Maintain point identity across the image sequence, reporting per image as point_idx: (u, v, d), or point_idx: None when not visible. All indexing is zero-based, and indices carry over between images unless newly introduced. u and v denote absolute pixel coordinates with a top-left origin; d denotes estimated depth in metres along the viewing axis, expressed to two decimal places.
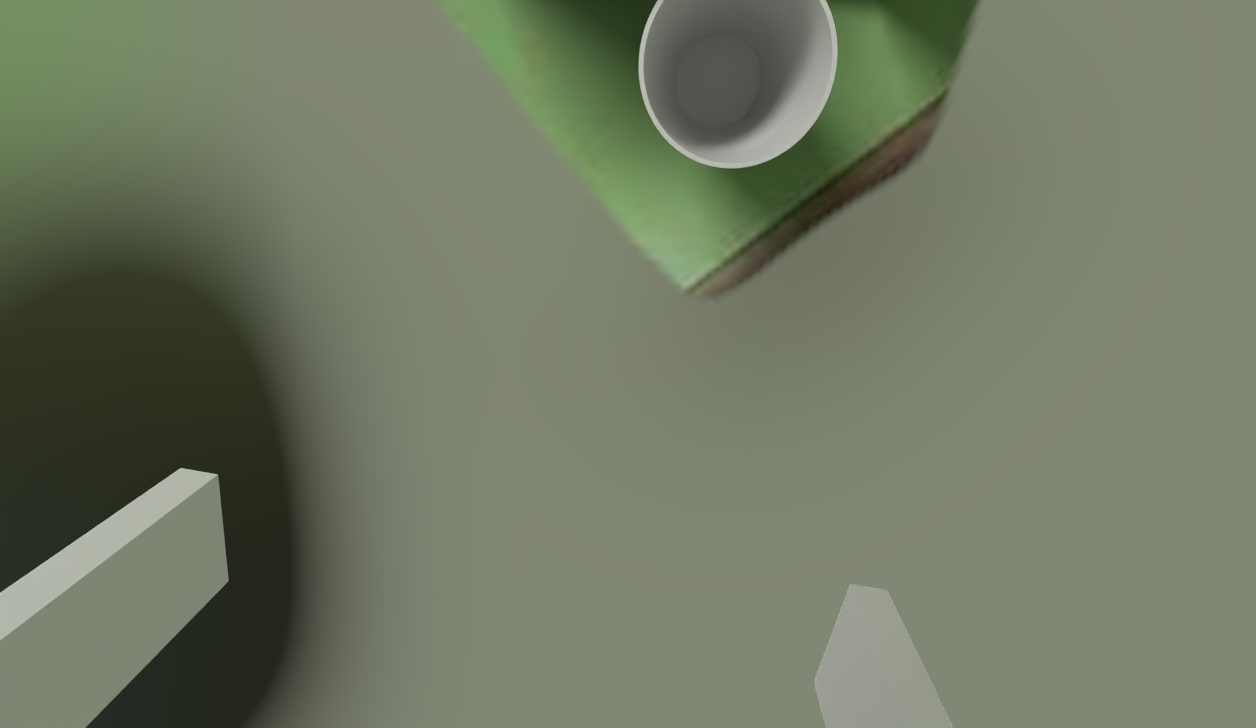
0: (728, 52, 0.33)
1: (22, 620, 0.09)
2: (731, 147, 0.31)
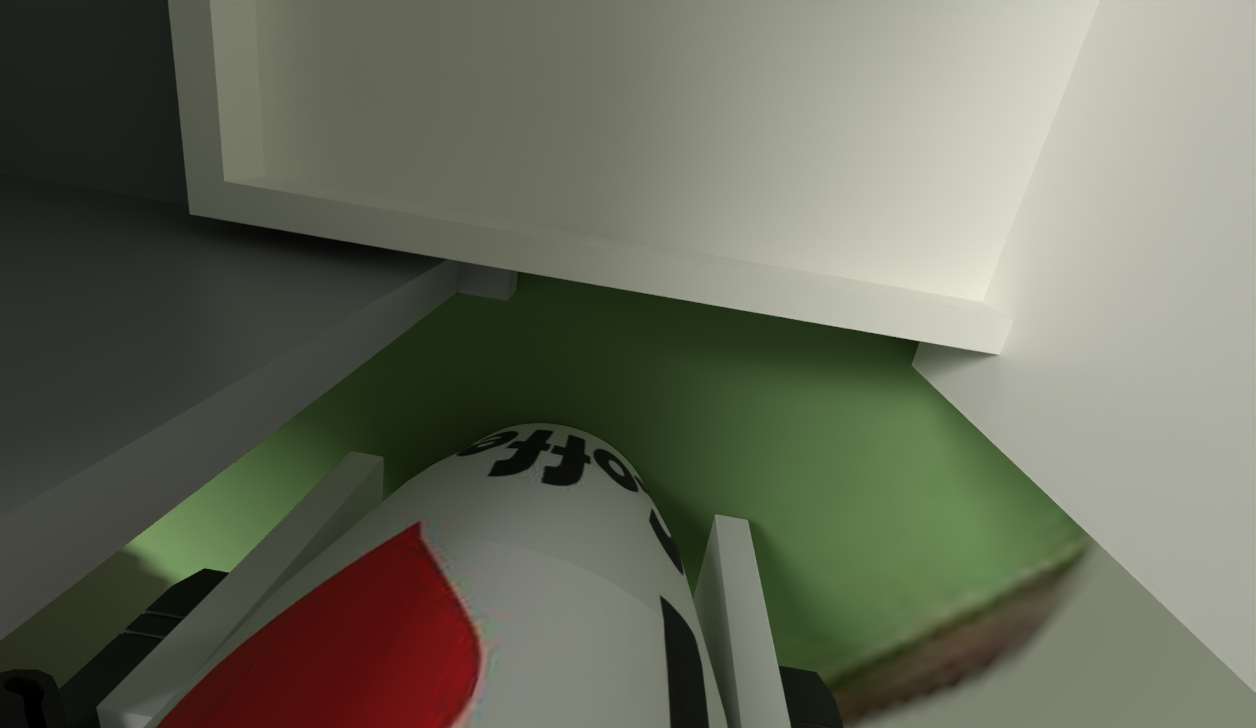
0: None
1: (277, 574, 0.10)
2: None
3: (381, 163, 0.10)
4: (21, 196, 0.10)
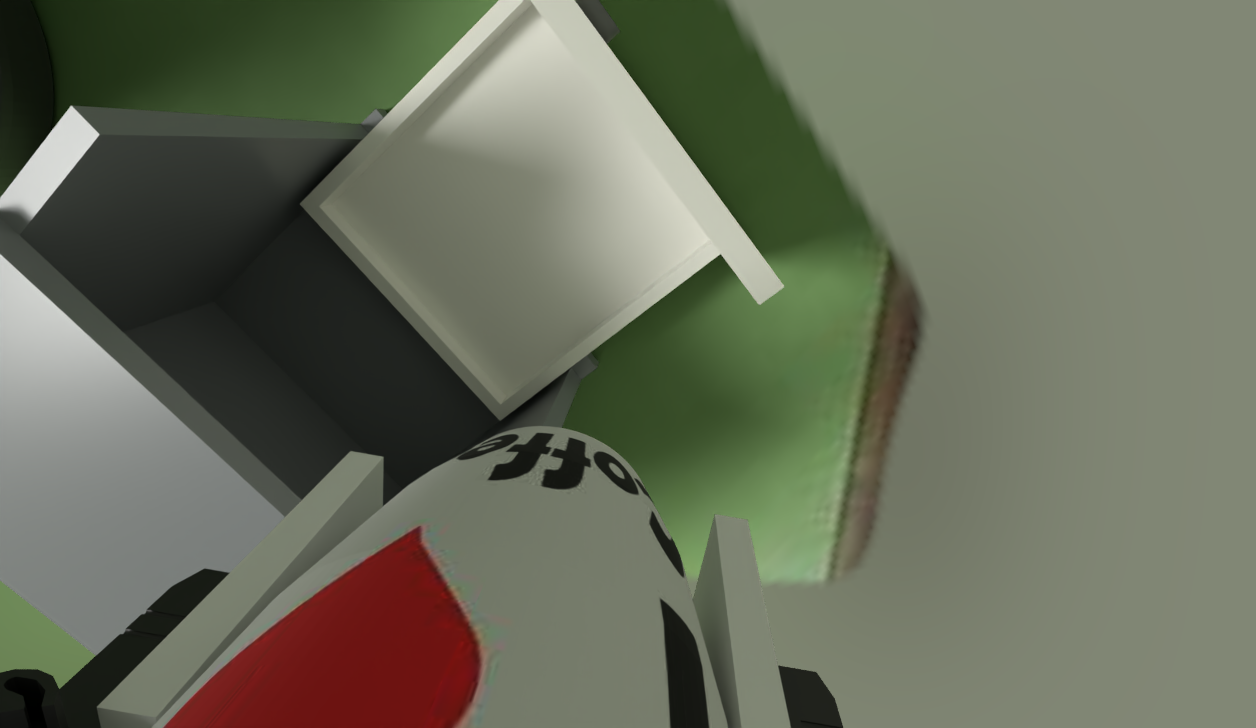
0: None
1: (277, 574, 0.10)
2: None
3: (529, 363, 0.28)
4: None
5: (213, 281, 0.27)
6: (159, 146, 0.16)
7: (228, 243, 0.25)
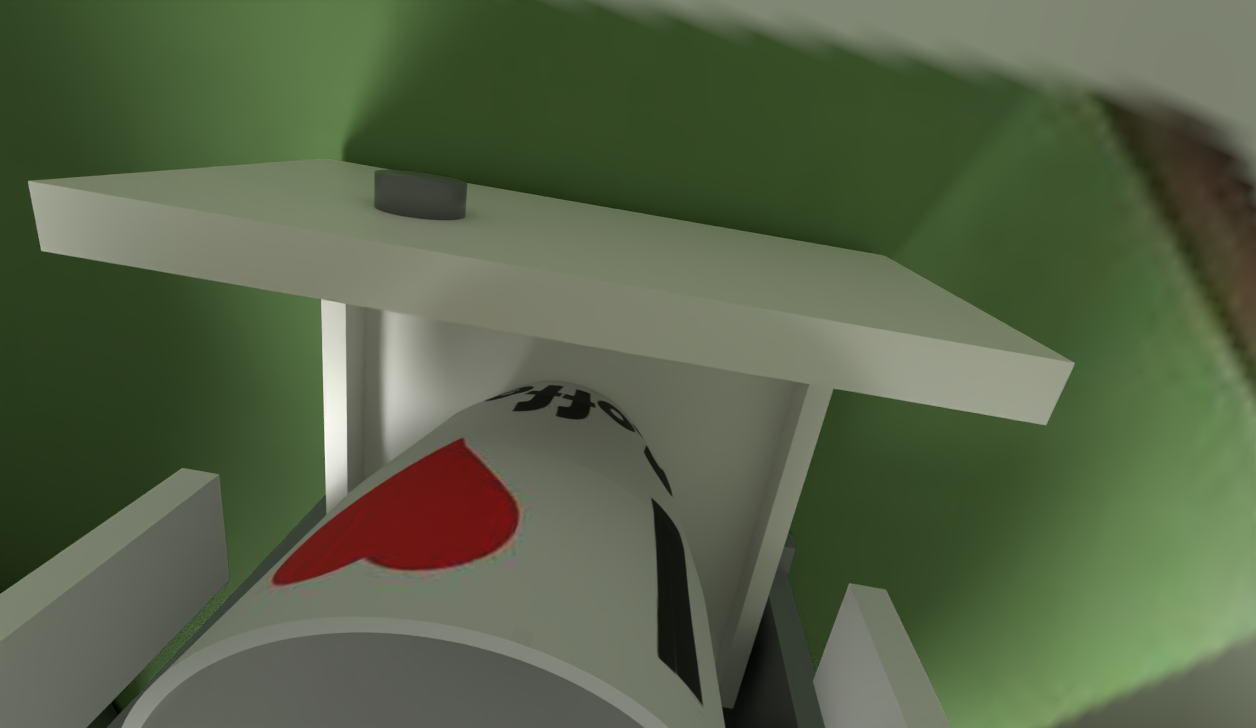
0: None
1: (25, 619, 0.09)
2: (553, 689, 0.14)
3: (711, 613, 0.19)
4: None
5: None
6: None
7: None
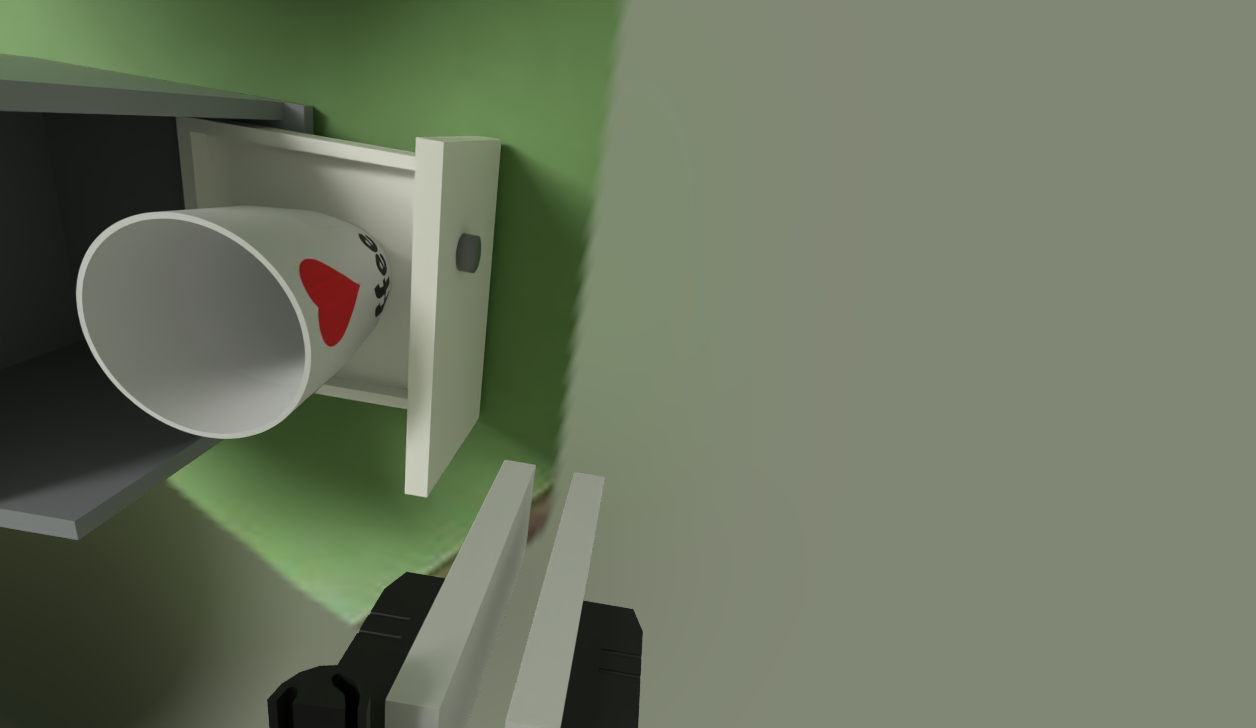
0: None
1: (487, 577, 0.11)
2: (216, 304, 0.26)
3: None
4: None
5: None
6: None
7: None
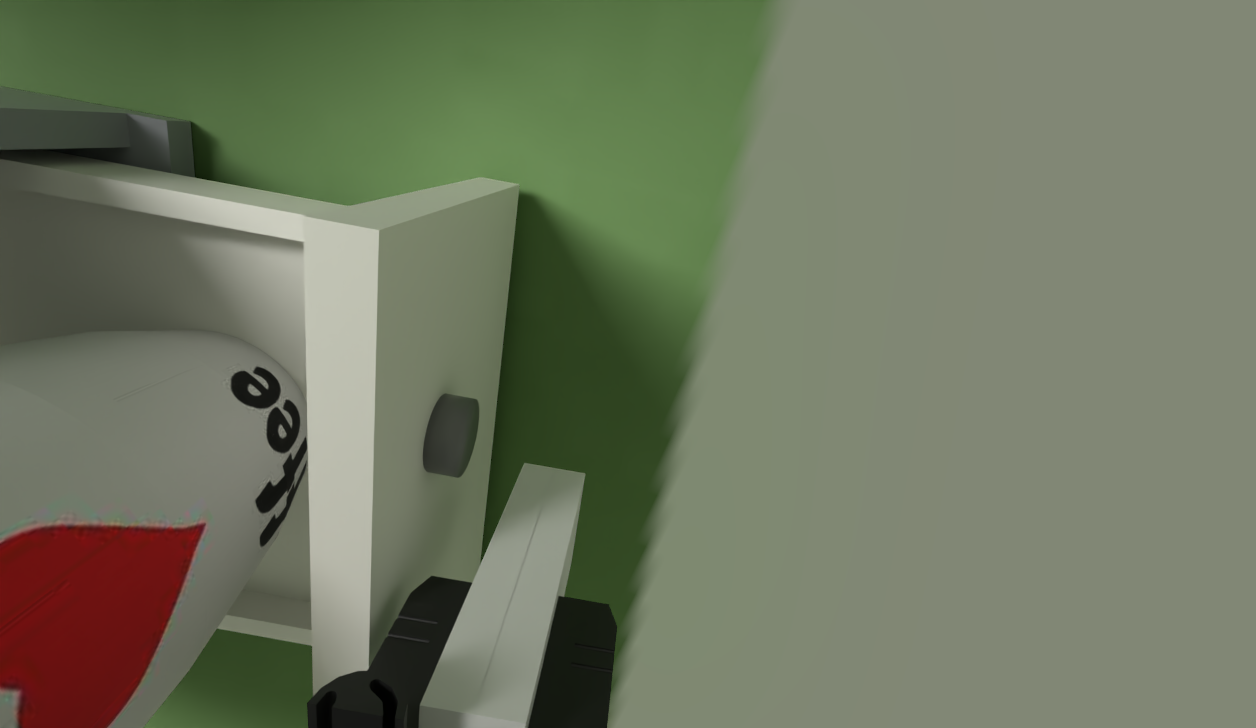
0: None
1: (513, 581, 0.11)
2: None
3: None
4: None
5: None
6: None
7: None
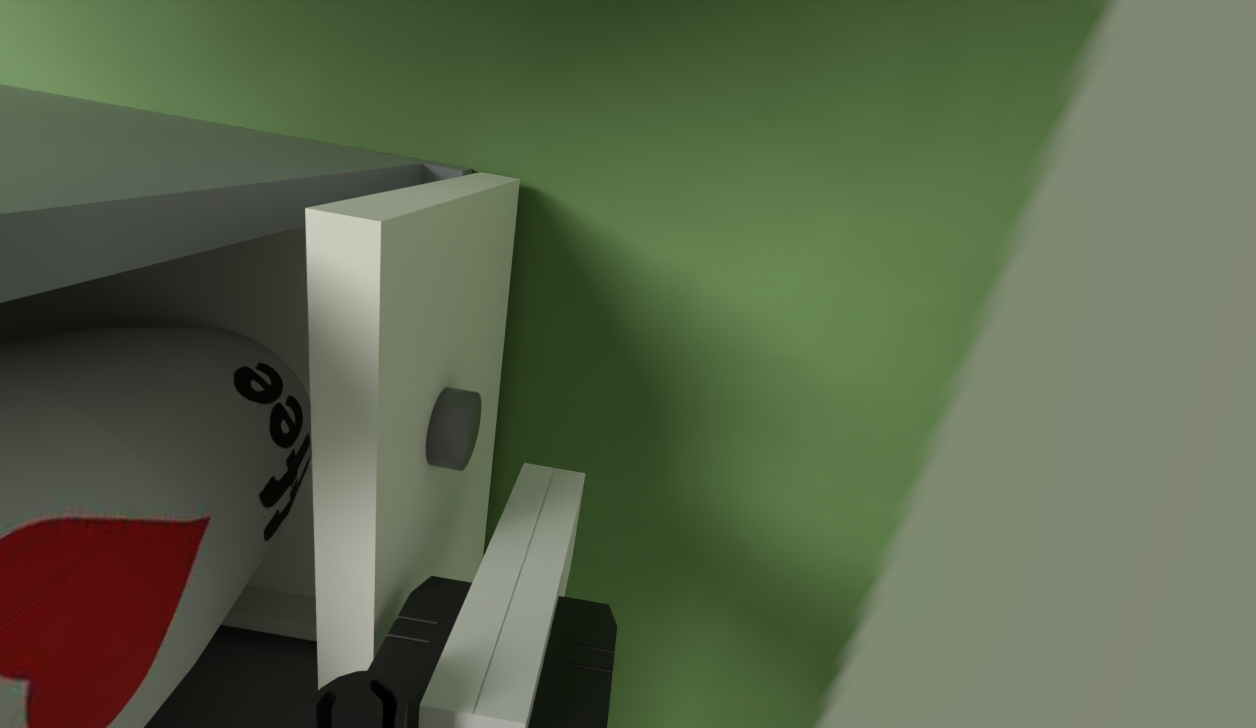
0: None
1: (513, 581, 0.11)
2: None
3: None
4: None
5: None
6: None
7: None
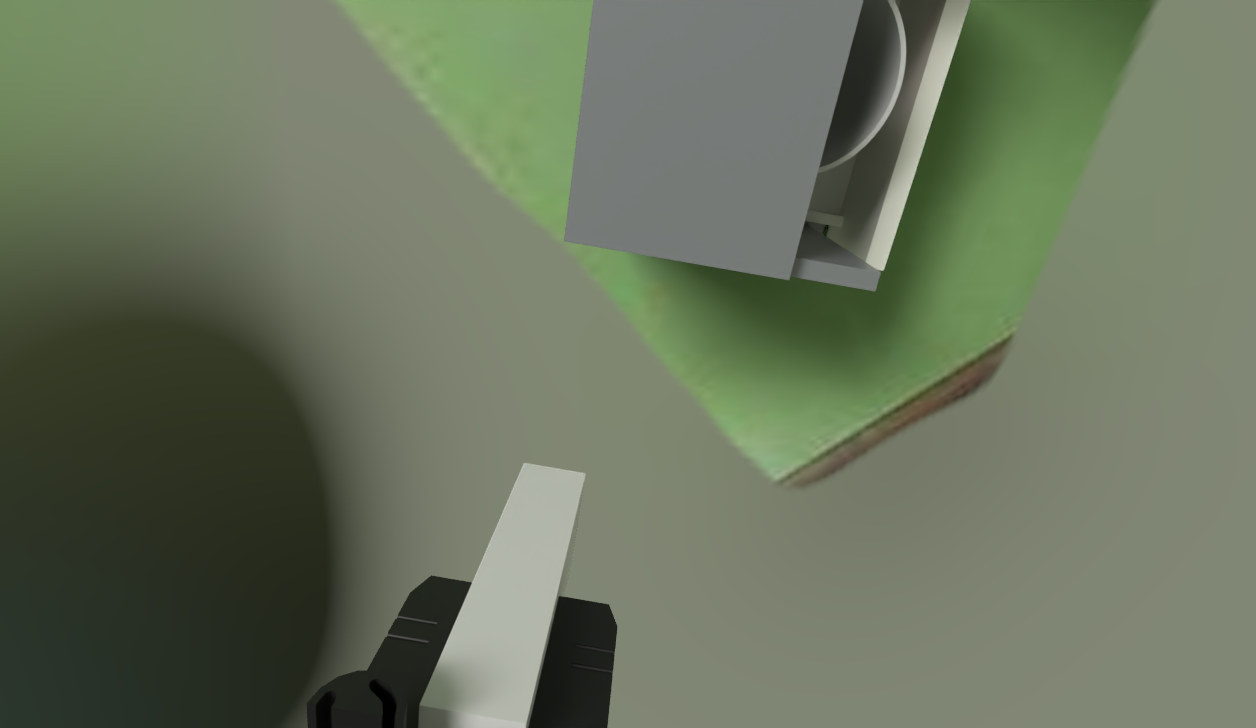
0: None
1: (513, 581, 0.11)
2: None
3: None
4: None
5: None
6: None
7: None
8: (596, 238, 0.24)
